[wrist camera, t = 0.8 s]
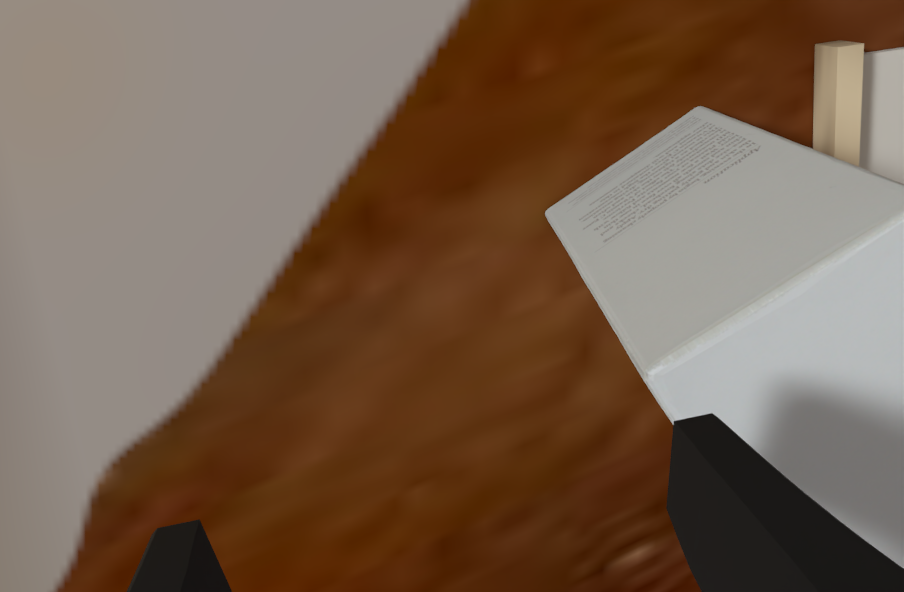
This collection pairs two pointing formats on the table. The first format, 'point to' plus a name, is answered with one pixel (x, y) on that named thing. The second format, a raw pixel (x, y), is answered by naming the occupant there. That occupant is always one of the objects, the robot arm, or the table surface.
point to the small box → (760, 301)
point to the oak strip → (838, 99)
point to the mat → (883, 114)
